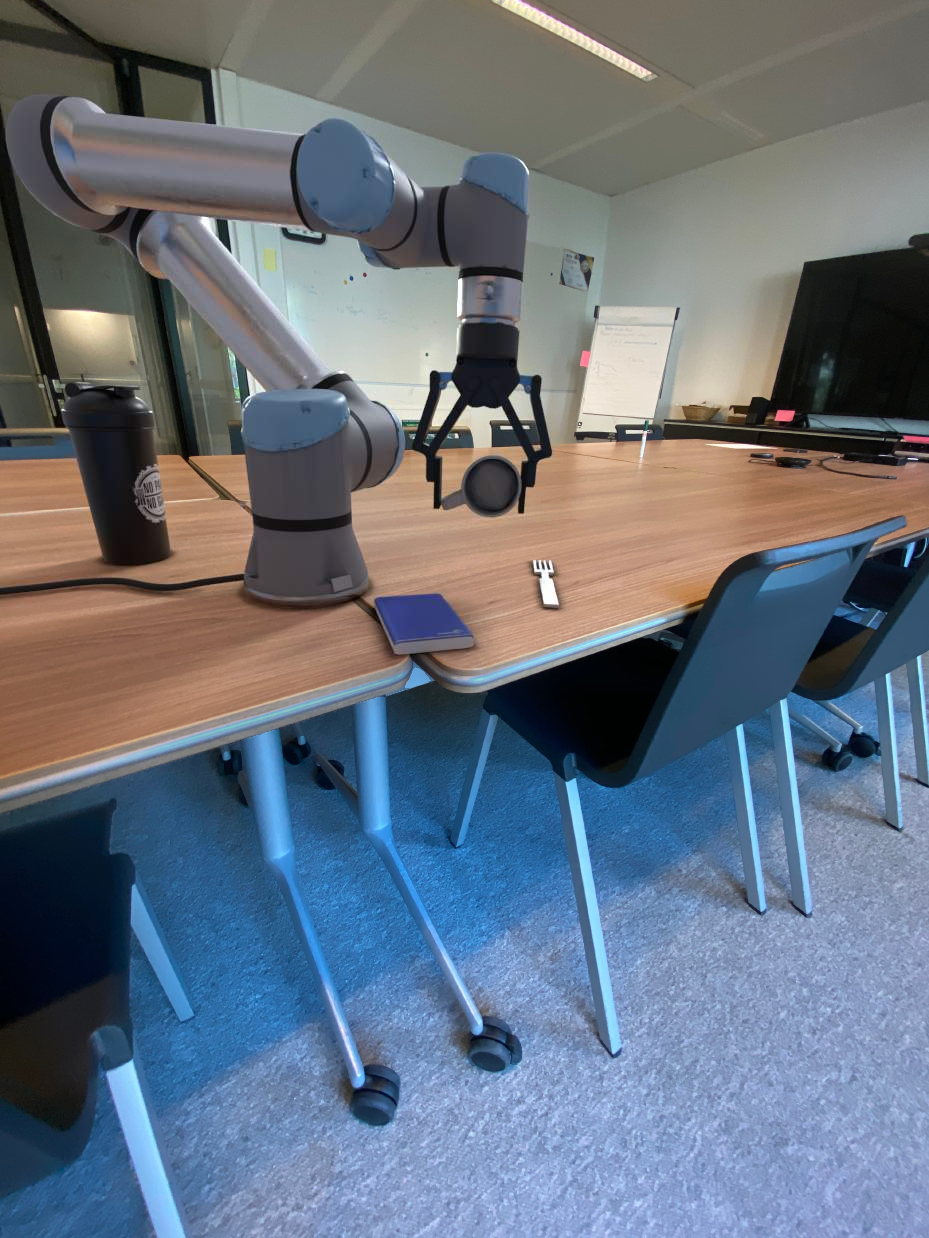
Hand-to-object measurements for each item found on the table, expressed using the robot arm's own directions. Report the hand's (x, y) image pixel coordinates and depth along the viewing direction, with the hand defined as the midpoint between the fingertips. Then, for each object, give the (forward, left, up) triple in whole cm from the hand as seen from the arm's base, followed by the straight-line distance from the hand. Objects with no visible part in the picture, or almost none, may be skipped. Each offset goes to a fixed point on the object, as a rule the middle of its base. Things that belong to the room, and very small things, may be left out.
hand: (478, 509), depth 72 cm
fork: (+10, -1, -9) cm, 14 cm away
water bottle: (-49, -1, -10) cm, 50 cm away
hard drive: (-5, -19, -10) cm, 22 cm away
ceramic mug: (0, 0, 0) cm, 1 cm away
